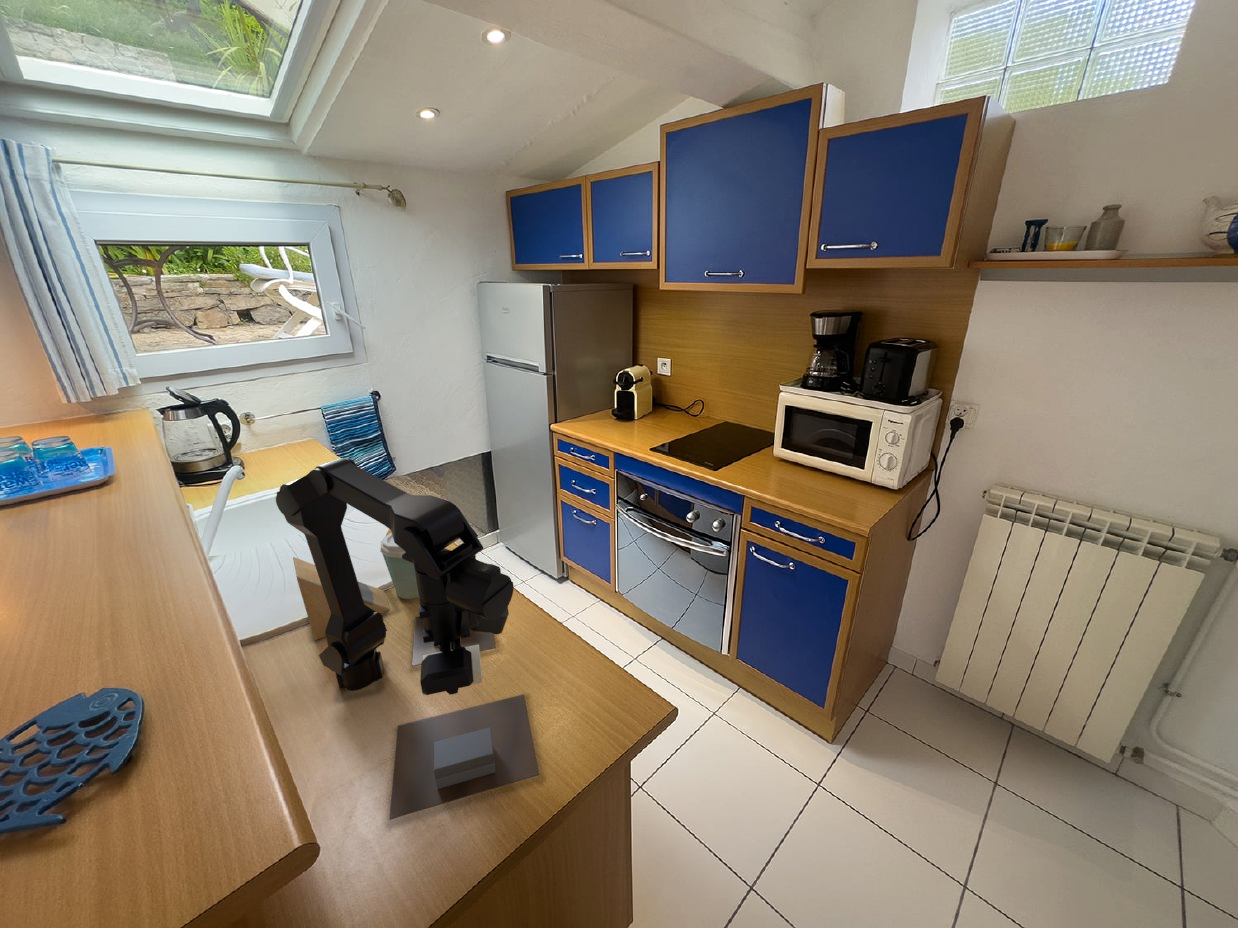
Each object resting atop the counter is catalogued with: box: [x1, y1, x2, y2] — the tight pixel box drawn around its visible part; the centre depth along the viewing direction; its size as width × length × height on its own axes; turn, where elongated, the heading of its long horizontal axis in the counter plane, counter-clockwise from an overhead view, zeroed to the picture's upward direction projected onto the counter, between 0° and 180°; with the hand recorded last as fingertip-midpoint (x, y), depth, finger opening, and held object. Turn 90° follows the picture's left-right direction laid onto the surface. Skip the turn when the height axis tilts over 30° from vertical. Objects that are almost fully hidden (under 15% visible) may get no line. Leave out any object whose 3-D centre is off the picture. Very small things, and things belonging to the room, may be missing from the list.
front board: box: [389, 694, 540, 820], centre depth 75 cm, size 20×15×1 cm
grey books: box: [434, 728, 495, 789], centre depth 71 cm, size 8×4×4 cm, turn 109°
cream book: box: [422, 644, 483, 696], centre depth 72 cm, size 8×6×2 cm
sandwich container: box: [292, 556, 391, 641], centre depth 101 cm, size 9×15×15 cm, turn 126°
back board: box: [411, 615, 497, 667], centre depth 98 cm, size 15×14×1 cm
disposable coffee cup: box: [380, 532, 419, 600], centre depth 108 cm, size 11×11×15 cm
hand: (453, 677), depth 73 cm, fingers closed on cream book, 5 cm apart
